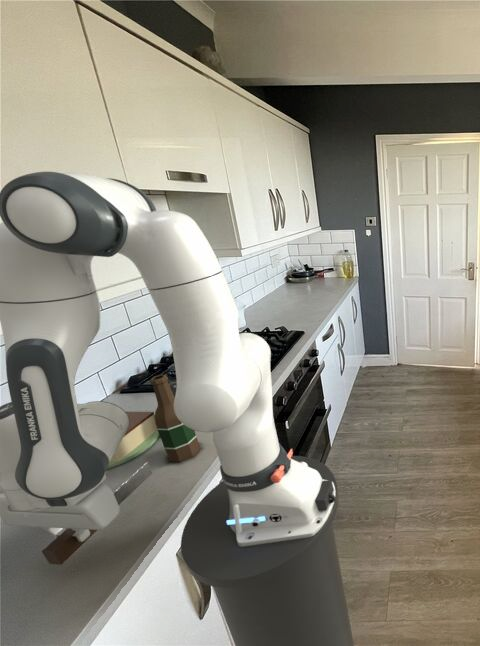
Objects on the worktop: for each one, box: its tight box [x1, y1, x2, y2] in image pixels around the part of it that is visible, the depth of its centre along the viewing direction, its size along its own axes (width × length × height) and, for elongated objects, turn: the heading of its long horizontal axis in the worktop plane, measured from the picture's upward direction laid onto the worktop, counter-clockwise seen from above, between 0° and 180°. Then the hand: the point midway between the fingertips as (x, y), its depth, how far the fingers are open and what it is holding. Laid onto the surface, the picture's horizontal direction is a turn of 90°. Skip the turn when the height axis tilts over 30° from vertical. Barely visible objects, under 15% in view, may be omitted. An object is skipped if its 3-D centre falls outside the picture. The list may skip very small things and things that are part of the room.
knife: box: [41, 461, 153, 566], centre depth 74 cm, size 2×22×4 cm, turn 176°
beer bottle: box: [149, 374, 201, 463], centre depth 92 cm, size 8×8×24 cm
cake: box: [106, 410, 160, 470], centre depth 98 cm, size 20×20×7 cm
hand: (74, 537), depth 67 cm, fingers closed on knife, 2 cm apart
